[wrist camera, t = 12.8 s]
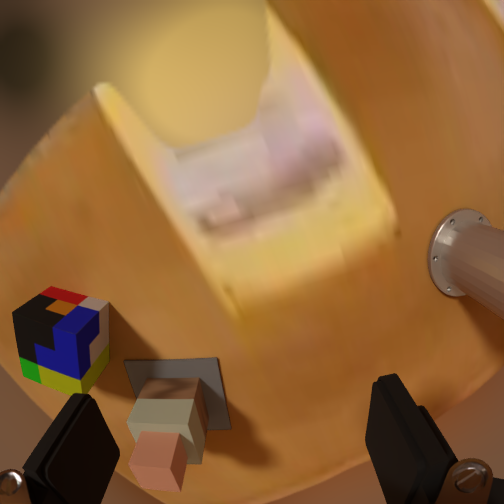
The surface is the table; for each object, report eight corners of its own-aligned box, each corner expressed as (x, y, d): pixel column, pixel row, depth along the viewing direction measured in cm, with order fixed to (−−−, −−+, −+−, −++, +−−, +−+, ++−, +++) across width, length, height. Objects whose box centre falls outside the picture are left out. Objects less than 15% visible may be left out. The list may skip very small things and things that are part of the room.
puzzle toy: (109, 301, 41) (75, 334, 31) (109, 360, 43) (83, 399, 34) (51, 286, 41) (12, 312, 31) (55, 343, 43) (23, 376, 33)
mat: (216, 357, 43) (216, 358, 42) (231, 427, 46) (231, 429, 46) (124, 360, 43) (123, 361, 43) (149, 427, 46) (148, 428, 46)
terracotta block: (179, 432, 34) (170, 468, 28) (187, 457, 35) (180, 491, 29) (141, 430, 34) (128, 464, 28) (152, 455, 35) (141, 488, 29)
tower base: (199, 377, 43) (193, 399, 38) (209, 417, 45) (205, 439, 40) (147, 378, 43) (137, 398, 38) (160, 417, 45) (153, 437, 40)
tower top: (193, 399, 38) (187, 424, 33) (205, 439, 40) (201, 464, 35) (137, 398, 38) (126, 422, 34) (153, 437, 40) (145, 461, 36)
